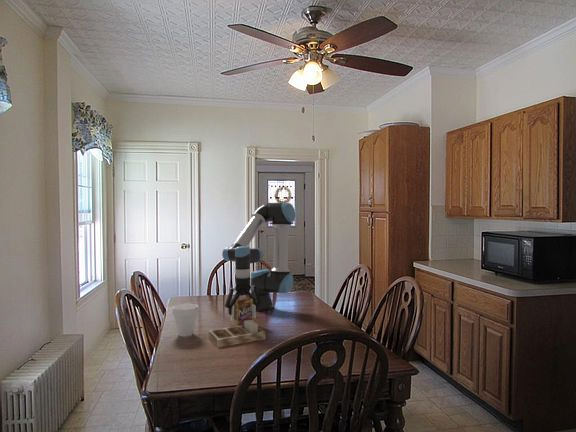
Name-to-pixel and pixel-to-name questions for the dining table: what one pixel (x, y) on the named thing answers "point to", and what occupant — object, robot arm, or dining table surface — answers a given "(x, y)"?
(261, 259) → the robot arm
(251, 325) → the white rectangular carton
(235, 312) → the candy box
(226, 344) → the rack
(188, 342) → the dining table surface
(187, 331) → the cup
